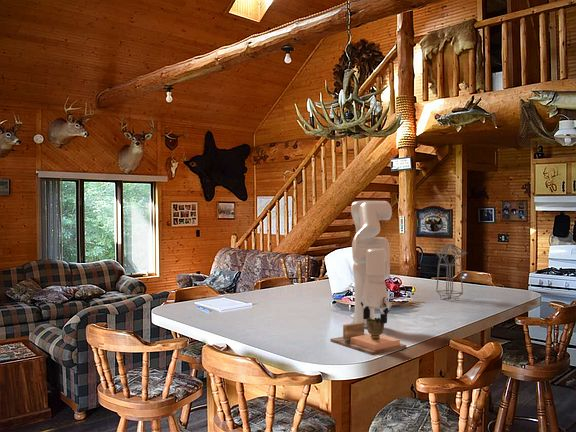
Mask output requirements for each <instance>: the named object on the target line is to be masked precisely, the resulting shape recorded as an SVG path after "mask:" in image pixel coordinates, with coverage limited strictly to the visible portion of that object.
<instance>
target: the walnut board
mask: <svg viewBox="0 0 576 432" xmlns="http://www.w3.org/2000/svg"><path fill="white" fill-rule="evenodd" d="M342 325H343V326H342V336H338V337H333V338H330V339H329V340H330V342H332V343H334V344H338V345H341V346H344V347H347V348H350V349H353V350H356V351H360V352H362V353H365V354H369V355H371V356H374V355H378V354H384V353H388V352H392V350H393V351H397V350H396V349H398V350H401V349H400V348H402V349H405V348H407V344H404V343H401V342H400V345H399V346H394V347H389V348H385V349H380V350H372V349H368V348H365V347H362V346H359V345H356V344H352V343H351V337H356V336H362V335H367V334H368V333H365V328H364V323H363V322H357V323H346V324H342Z"/></svg>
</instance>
